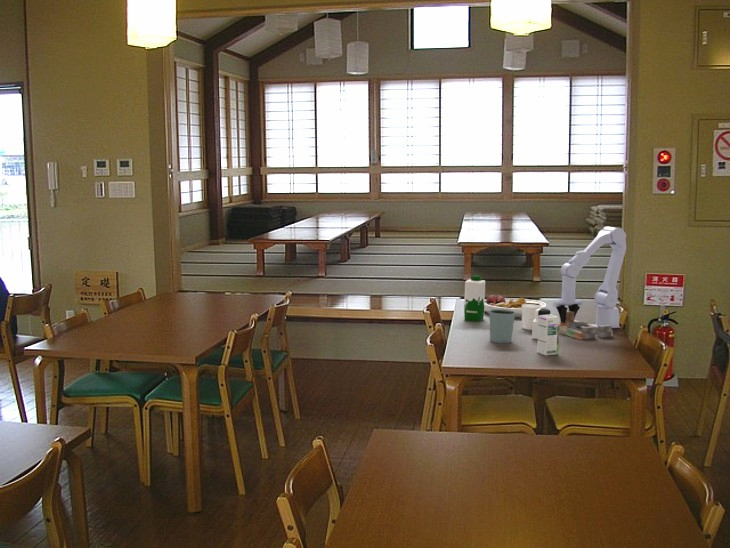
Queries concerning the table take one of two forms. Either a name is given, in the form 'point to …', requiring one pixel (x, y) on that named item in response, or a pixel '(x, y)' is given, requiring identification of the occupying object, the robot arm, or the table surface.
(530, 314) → the white cup
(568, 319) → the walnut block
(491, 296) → the bowl
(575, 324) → the gauge plate
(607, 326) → the gauge bed
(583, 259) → the robot arm
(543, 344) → the syrup box
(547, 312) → the medicine bottle
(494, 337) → the drinking glass
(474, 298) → the milk carton
